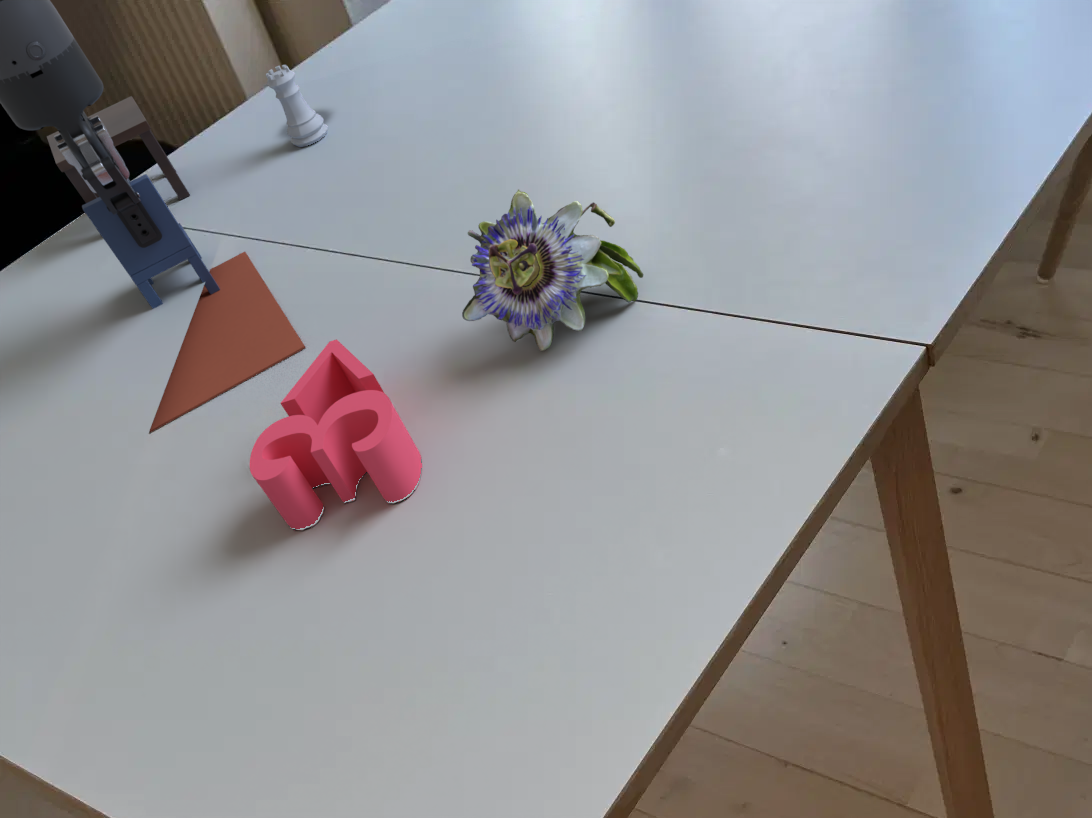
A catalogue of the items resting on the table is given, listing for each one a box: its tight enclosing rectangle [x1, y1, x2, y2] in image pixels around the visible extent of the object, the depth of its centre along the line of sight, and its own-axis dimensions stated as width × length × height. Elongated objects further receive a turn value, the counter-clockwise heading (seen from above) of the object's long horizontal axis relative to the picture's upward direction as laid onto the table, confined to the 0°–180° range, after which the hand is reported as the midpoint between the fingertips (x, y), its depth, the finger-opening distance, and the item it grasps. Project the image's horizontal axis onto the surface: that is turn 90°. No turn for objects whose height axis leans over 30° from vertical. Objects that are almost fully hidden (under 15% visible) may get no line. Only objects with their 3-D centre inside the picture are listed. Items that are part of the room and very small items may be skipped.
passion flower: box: [461, 188, 644, 352], centre depth 83 cm, size 11×11×12 cm
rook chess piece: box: [265, 64, 329, 148], centre depth 121 cm, size 4×4×8 cm
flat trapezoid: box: [148, 251, 307, 433], centre depth 98 cm, size 22×14×1 cm, turn 30°
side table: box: [46, 95, 191, 204], centre depth 121 cm, size 10×10×9 cm
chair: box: [81, 173, 220, 310], centre depth 101 cm, size 6×6×12 cm
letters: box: [249, 339, 423, 529], centre depth 78 cm, size 14×10×5 cm
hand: (150, 238), depth 98 cm, fingers closed on chair, 1 cm apart
